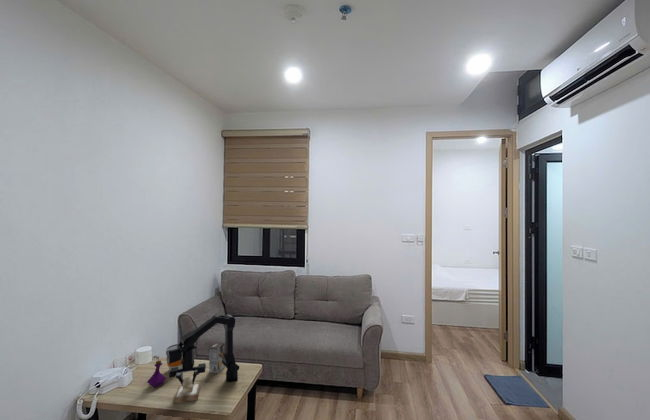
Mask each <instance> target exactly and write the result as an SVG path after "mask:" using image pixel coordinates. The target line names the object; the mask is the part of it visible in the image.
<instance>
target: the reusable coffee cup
mask: <svg viewBox="0 0 650 420" xmlns="http://www.w3.org/2000/svg"><path fill="white" fill-rule="evenodd" d="M178 344H179V343H175V344H171V345H170V346H168V347H166V350H165V356H167V354H168V351H169V350H173V349H177V346H178ZM183 346H184V345H183ZM166 360H167V357H166ZM181 360H182V358H181ZM181 360H180V361H177V362H173V363H170V364H168V362H167V361H166V363H167V367H168V373H169V372H170V370H171V368H175V367H178V368H179V369H182V364H181Z"/></svg>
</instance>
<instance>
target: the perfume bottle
mask: <svg viewBox="0 0 650 420" xmlns="http://www.w3.org/2000/svg"><path fill="white" fill-rule="evenodd" d="M153 359H157V360H156V362H155V364H154V367H155V370H154V372H153V374H152V376H151V377H150V378H149V379H148V380H147V384H148V385H150V386H151V387H152V388H158V387H160V386H162V385H163V383H165V382H166V380H167V377H166V376H164V374H163V373H161V372H160V368H161V366H162V365H163V363H162V360H160V354H156V355H154V356H153Z"/></svg>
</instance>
